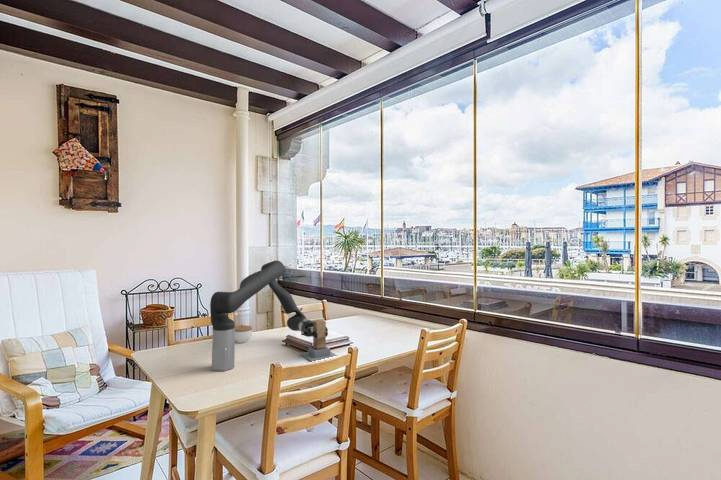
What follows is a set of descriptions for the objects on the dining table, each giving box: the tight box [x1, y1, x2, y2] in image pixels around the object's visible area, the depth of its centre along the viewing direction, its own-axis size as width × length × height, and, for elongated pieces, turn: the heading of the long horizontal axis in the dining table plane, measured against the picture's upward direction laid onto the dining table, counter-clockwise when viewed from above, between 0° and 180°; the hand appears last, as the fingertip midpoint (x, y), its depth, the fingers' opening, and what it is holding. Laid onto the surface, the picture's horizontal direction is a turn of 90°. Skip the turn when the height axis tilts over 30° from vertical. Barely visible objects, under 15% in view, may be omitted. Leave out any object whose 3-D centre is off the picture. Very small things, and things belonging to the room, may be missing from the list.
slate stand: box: [299, 346, 338, 363], centre depth 189 cm, size 14×14×4 cm
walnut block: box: [312, 319, 327, 350], centre depth 189 cm, size 4×4×14 cm
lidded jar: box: [235, 323, 253, 344], centre depth 214 cm, size 11×11×9 cm
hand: (321, 335), depth 187 cm, fingers closed on walnut block, 4 cm apart
